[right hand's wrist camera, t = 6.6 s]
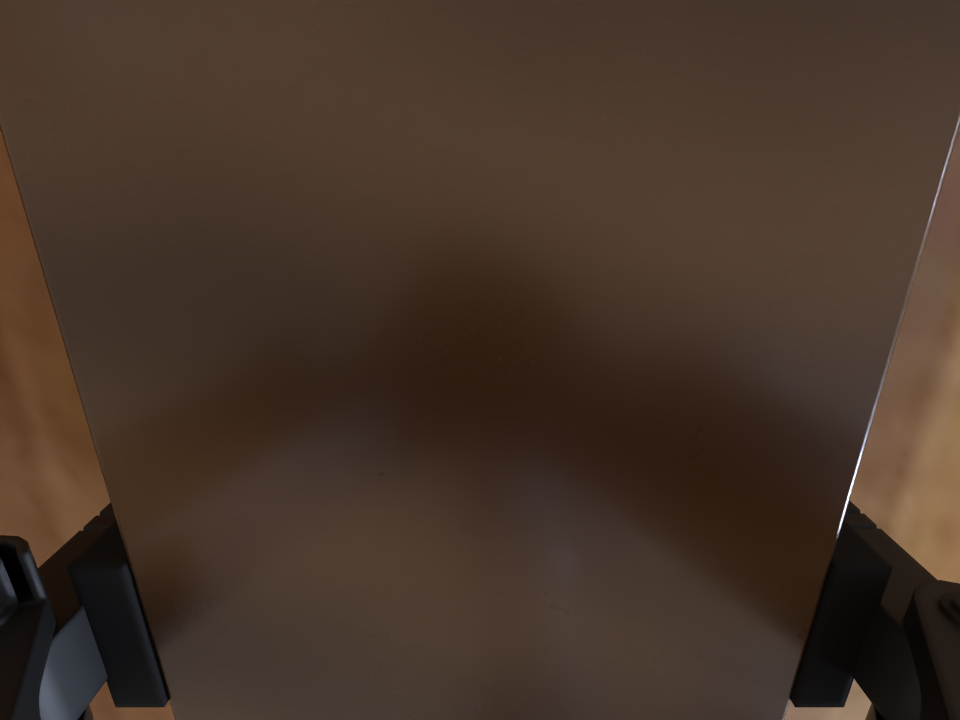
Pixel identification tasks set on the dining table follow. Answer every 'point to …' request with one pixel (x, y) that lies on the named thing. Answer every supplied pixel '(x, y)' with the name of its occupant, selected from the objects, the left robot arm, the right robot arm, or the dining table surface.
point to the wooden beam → (479, 331)
